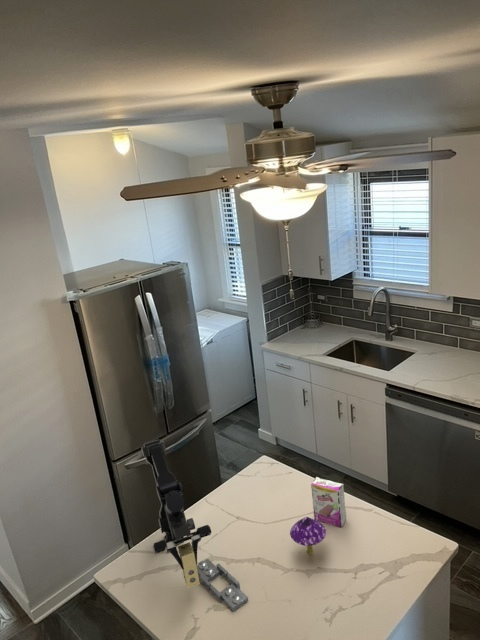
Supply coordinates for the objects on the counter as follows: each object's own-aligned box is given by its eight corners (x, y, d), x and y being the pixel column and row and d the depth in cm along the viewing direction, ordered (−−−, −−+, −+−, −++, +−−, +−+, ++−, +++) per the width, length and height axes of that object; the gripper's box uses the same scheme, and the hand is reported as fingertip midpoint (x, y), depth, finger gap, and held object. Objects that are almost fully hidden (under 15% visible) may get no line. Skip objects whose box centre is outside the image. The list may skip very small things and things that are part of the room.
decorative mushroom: (311, 535, 190) (307, 500, 185) (335, 553, 180) (332, 517, 175) (285, 553, 183) (280, 517, 179) (309, 572, 173) (305, 535, 169)
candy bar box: (313, 520, 197) (310, 483, 193) (319, 512, 201) (315, 476, 196) (341, 528, 191) (338, 490, 186) (346, 520, 195) (343, 483, 190)
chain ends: (191, 572, 180) (190, 566, 179) (210, 560, 184) (209, 554, 184) (230, 613, 162) (229, 607, 161) (251, 599, 166) (250, 592, 165)
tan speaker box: (183, 577, 169) (177, 546, 166) (195, 573, 171) (189, 541, 167) (187, 588, 165) (181, 556, 161) (199, 584, 166) (193, 552, 162)
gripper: (148, 522, 162) (161, 575, 155) (205, 503, 167) (220, 554, 160) (148, 528, 171) (160, 578, 164) (202, 510, 176) (216, 557, 170)
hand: (189, 567), depth 164 cm, fingers closed on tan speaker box, 4 cm apart
